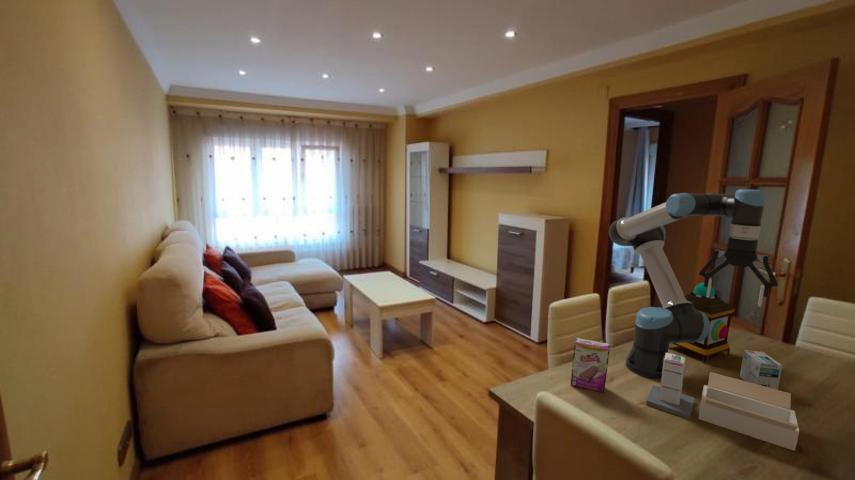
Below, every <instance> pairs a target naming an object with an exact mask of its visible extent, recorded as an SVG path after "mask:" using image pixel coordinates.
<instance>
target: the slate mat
mask: <svg viewBox="0 0 855 480" xmlns="http://www.w3.org/2000/svg"><path fill="white" fill-rule="evenodd" d="M660 387H661V386H657V385H654V384H652V386H651V388H650V391H649V394H648V396H647V398H646V402H645V405H646V406H648V407H652V408H655V409H658V410H661V411H664V412H667V413H669V414H672V415H676V416H678V417H682V418H685V419H688V420H691V416H692V410H693V407H694V401H695V397H694V396H690V395H687V394H684V393H681V399H680V404H679V405H675V404H672V403H668V402H665V401H662V400H660V399H659V396H660Z"/></svg>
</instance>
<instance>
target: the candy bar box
mask: <svg viewBox="0 0 855 480" xmlns="http://www.w3.org/2000/svg"><path fill="white" fill-rule="evenodd" d="M610 348H611V345H610V343H606V342H601V341H596V340H592V339H587V338H581V337H576V338H575V341H574V350H573V355H572V356H573V358H572V368H571V377H570V386H572V387H576V388H581V389H586V390H588V391H594V392H598V393H602V394H605V390H606V382H607V374H608V366H609V359H610V351H611V350H610Z"/></svg>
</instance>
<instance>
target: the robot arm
mask: <svg viewBox="0 0 855 480" xmlns="http://www.w3.org/2000/svg"><path fill="white" fill-rule="evenodd" d="M765 206H766V192H765V191H764V190H762V189H748V188H747V189H743V188H741V189H740V188H739V189H737V190H736V191H735V194H726V193H719V192H711V193H709V192H708V193H688V192H680V193H673V194H671V195H670V196H669V197H668V198H667V200H666V202H663V203H660V204H658V205H656V206H653V207H651V208H649V209H646V210H644V211H642V212H638V213H637V214H634V215H632V216H629V217H627V216H626V217H621V218H619V219H616V220H614V221H613V222H612V223H611V225H610V226H609V228H608V236H609V238H610V240H611V241H612V242H613V243H614V244H615V245H618V246H619V247H632V248H633V250H634V252H635V254H636V255H638V256H640V257H641V259H642V262H643V264H644V267H645V269H646V270H647V271H646V272H647V274H648V275H649V278H650V280H651V283H652V284H653V287H654V290H655V291H656V294H657V297H658V299H659V302H660V303H661V306H662V307H659V306H658V307H655V306H648V307H643V308H641V309H639V310H638V311H637V313H636V318H635V324H634V326H635V327H634V332H633V341H632V342H633V343H632V346H631V349H630V351H629V352H628V354H627V356H626V358H625V367H627V369H628V370H630V371H631V372H632V373H635V374H637V375H639V376H643V377H646V378H650V379H660V380H661V379H662V370H663V362H664V356H665V353H669V346H670V344H672V343H687V342H689V343H694V342H698V341H702V340H704V339H705V338H706V337H707V336H708V334H709V331H710V322H709V319H708V317H707V316H706V315H705V314H704V313H702V312H701V311H699V310H696V309H695V307H694V305H693V303H692V302H689V301H687V300H686V298H685V296H686V295H685V294H684V292H683V289H682V287H681V286H680V284H679V281H678V279H677V277H676V275H675V273H674V270H673V268H672V267H671V266H672V265H671V264H670V261H669V260H668V258H667V255H666V253H665V252H664V249H663V248H664V246H665V242H666V239H667V236H666V235H667V232H666V228H665V225H669V224H671V223H674V222H677V221H679V220H683V219H685V218H688V217H724V218H731V220H730V227H729V232H728V236H729V237H728V239H727V245H726V250H725V251H722V250H720V249H718V248H717V249H715V250H714V253H713V255H712V256H711V258H710V259H709V260H708V261H707V263H706V264H705V265H704V266H703V267H702V269H700V271H699V273H698V274H699V276H702V277H704V282H703V283H704V287H708V289H707V296H706V297H707V298H709V296H710V289H711V286H712V281H713V277H712V276H714V275H715V274H717V273H718V272H719V271H722V270H723V269H724V268H726V267H727V266H729V265H731V266H732V267H733V266H734V267H741V268H747V267H748V268H749V269H750V270H751V271H752V272H753V273H754V274H755V276H756V277H757V279H758V280H759V281H760V282H761V283H762V284H761V285H760V288H759V290H760V291H759V295H758V302H757V307H759V308H762V304H763V298H767V297H768V296H769V292H770V291H769V290H770V288H771V287H777V286H778V281H777V279H776V277H775V275H774V273H773V271H772V268H771V265H770V264H769V256H768V255H767V254H764V255H763V254H762V255H761V254H758V255H757V249H758V244H759V240H757V239H758V238H760V233H761V225H762V219H763V214H764V209H765ZM722 256H724V258H726V259H725V260H724V261H723V262H722V263H720V264H718V265H717V266H716V267H714V268H712V269H711V270H710V271H708V270H709V269H710V267H711V266H712V265H713V264H714V263H715V261H716V260H717V259H718V258H721V257H722ZM756 260H759V262H760V263H762V264H763V266H764V268H765V269H764V270H765V272H766V273H767V276H768V277H769V281H768V280H767V279H766V278H765V276H764V275H763V274H762V273H761V271H760V270H759V269H758V268H757V267H756V265H755V264H754V262H755V261H756ZM707 271H708V272H707Z"/></svg>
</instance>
